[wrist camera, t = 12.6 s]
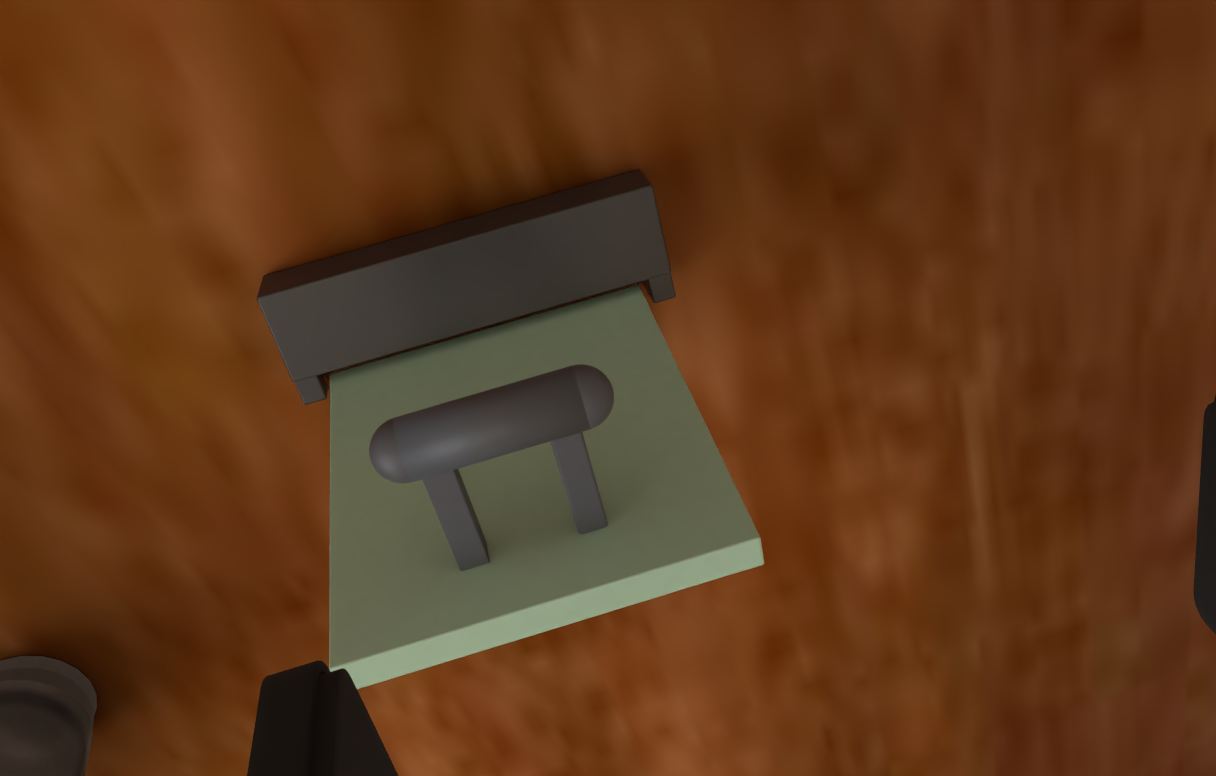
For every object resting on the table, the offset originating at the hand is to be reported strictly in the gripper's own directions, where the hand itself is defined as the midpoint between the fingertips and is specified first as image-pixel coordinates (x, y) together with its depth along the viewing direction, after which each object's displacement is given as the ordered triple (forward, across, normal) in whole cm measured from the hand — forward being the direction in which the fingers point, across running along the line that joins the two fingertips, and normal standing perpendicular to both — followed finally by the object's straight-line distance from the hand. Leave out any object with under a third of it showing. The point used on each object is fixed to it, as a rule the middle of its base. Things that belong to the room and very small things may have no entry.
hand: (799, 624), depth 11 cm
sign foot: (+26, +3, +5) cm, 27 cm away
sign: (+19, +3, +9) cm, 21 cm away
